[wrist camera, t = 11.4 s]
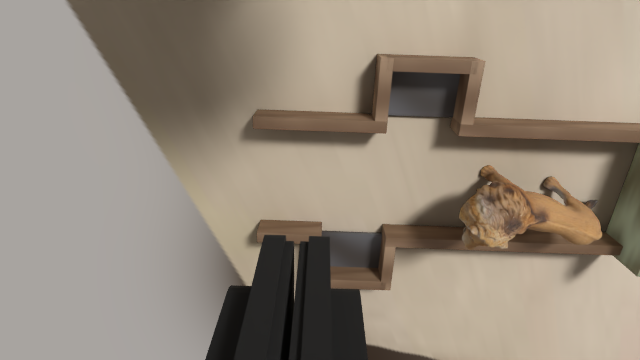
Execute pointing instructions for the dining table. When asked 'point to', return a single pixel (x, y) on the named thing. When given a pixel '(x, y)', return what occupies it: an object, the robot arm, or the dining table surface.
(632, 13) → the dining table surface
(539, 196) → the lion figurine
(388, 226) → the wooden walled channel
